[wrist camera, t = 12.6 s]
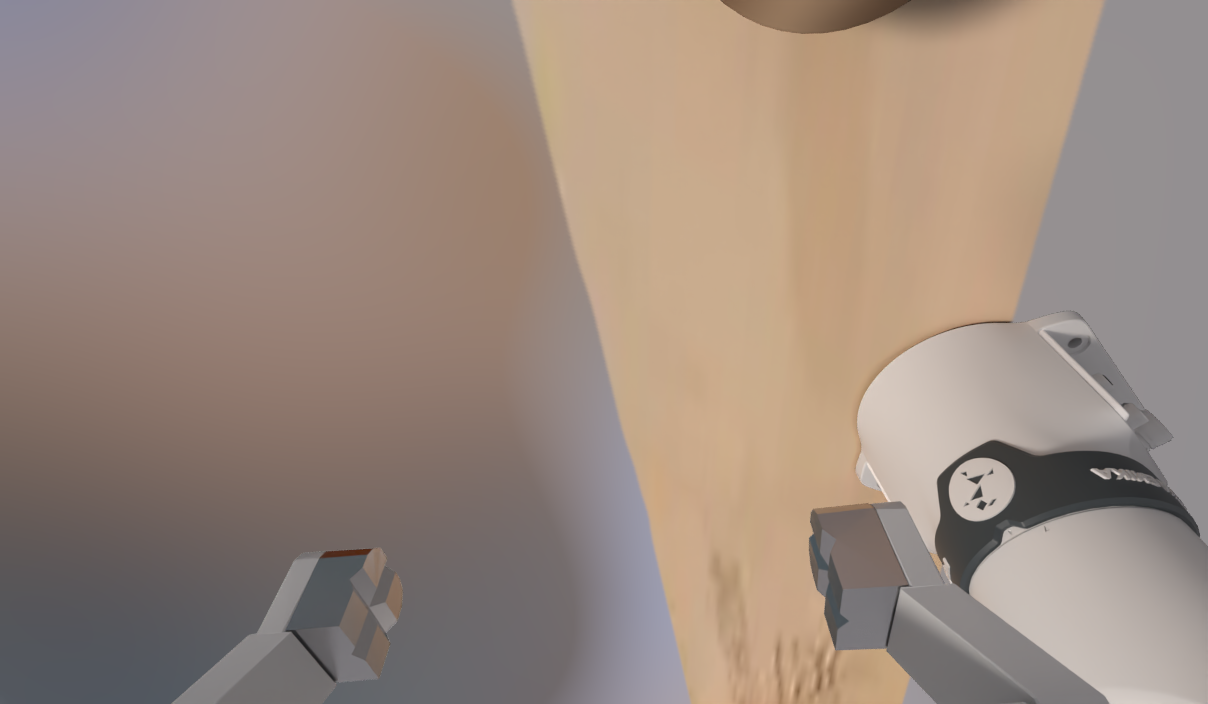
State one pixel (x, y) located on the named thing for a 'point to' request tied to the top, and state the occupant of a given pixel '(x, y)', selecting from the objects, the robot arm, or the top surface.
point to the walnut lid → (813, 13)
